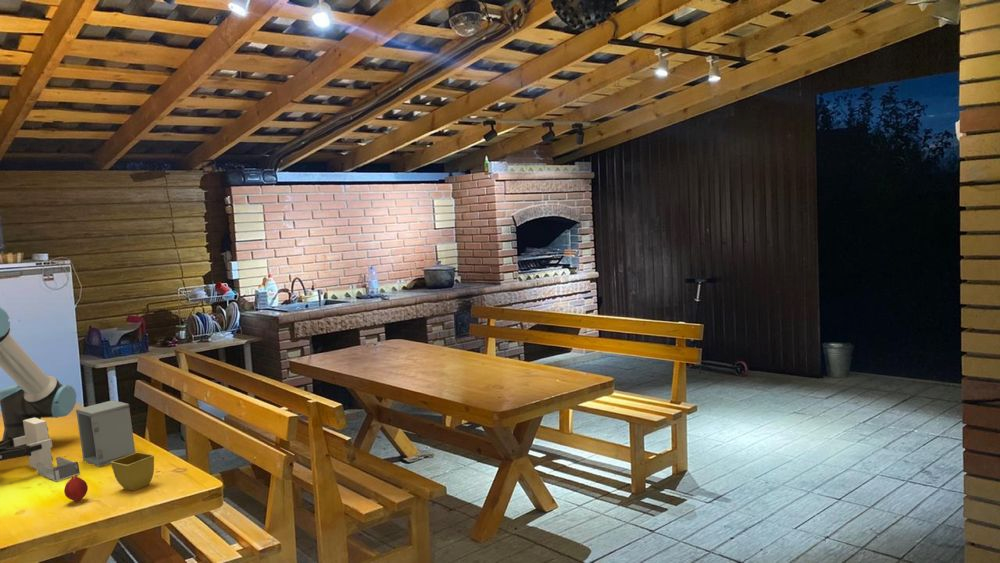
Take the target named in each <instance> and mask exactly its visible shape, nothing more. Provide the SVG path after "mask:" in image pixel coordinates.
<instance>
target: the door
mask: <svg viewBox="0 0 1000 563" xmlns="http://www.w3.org/2000/svg"><path fill="white" fill-rule="evenodd" d="M23 424H24V431H25V437H26V444H27V446H29V444H33V443H36V442H40V441H44V440H47V439H50V435H49V436H48V434H49V427H48V422H47V420H44V419H42V418H41V419H38V418H35V417H34V418H30V419H26V420H23ZM53 460H54V459H53V455H52V450H51V448H47V449H43V450H40V451H36V452H33V453H31V456H28V464H29V467H30V466H31V467H30V468H32V467H33V468H32V469H36V470H37V465H36V463H39V462H40V463H42V464H45V465H47V466H50V467H52V468H53V467H54V463H53Z"/></svg>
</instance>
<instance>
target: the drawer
mask: <svg viewBox="0 0 1000 563" xmlns="http://www.w3.org/2000/svg"><path fill="white" fill-rule="evenodd" d="M55 461H56V466H53V468H52V467H50V466H47V465H45V464H42V463H40V462H39V463H36V465H37V469H36V472H37V474H38V475H40V476H42V477H43V478H47V479H49V480H52V481H54V482H56V483H57V482H61V481H64V480H66V478H67V479H69V477H70V478H71V477H72V476H73V475H77V476H79V475H78V474H80V475H81V472H80V467H79V466H80V465H79V462H78V461H72V460H70V459H67V458H63V457H61V456H57V457H55ZM63 479H64V480H63ZM60 480H61V481H60Z"/></svg>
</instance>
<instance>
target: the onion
mask: <svg viewBox="0 0 1000 563" xmlns="http://www.w3.org/2000/svg"><path fill="white" fill-rule="evenodd" d="M88 487H89V486H88V484H87V482H86V481H85V480H84V479H83V478H81V477H78V475H77V476H75V475H73V476H72V477H70V479H69V480H68V481H67V482H66V484H65V486H64V495H65V497H66V498H67V499H69V500H70V501H73V502H75V503H79V502H81V500H83V499H84V497H85V496H86V495H87V492H88Z"/></svg>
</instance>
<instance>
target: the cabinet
mask: <svg viewBox="0 0 1000 563" xmlns="http://www.w3.org/2000/svg"><path fill="white" fill-rule="evenodd" d="M75 411H76V418H77V425H78V431H79V432H78V433H79V438H80V439H79V440H80V446H81V452H82V453H81V454H82V460H83V462H84V461H86V462H85V463H87V462H88V464H90V463H91V464H90V465H92V464H93V466H95V465H96V467H98V468H101V467H104V466H107V465H111V462H112V461H114V460H117V459H120V458H123V457H126V456H128V455H131V454H133V453H136V448H135V440H134V434H133V425H132V419H131V411H130V403H125V402H123V401H117V400H108V401H103V402H101V403H95V404H92V405H88V406H85V407H80V408H77V409H76V410H75Z"/></svg>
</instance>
